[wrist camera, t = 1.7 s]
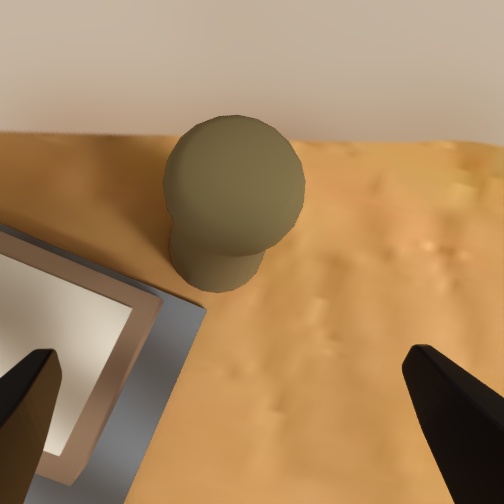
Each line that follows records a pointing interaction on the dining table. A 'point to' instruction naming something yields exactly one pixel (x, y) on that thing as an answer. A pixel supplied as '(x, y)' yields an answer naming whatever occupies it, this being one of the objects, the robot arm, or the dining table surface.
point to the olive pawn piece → (230, 199)
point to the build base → (91, 363)
